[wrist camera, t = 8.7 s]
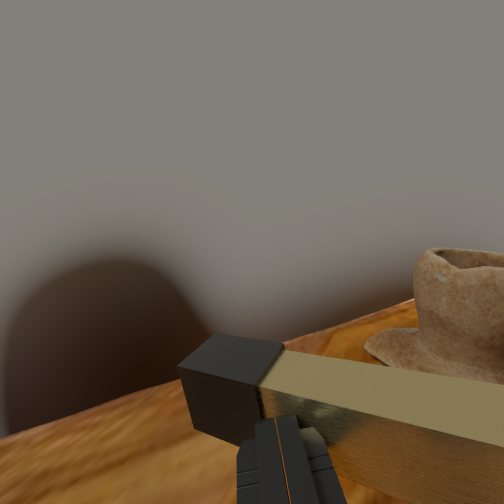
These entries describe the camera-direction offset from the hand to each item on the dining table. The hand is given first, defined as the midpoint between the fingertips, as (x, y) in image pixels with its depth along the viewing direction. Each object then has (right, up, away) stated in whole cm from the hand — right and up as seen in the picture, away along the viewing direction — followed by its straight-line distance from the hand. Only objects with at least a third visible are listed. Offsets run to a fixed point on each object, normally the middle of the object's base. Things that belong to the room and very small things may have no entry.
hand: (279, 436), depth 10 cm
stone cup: (+22, -8, +22) cm, 32 cm away
